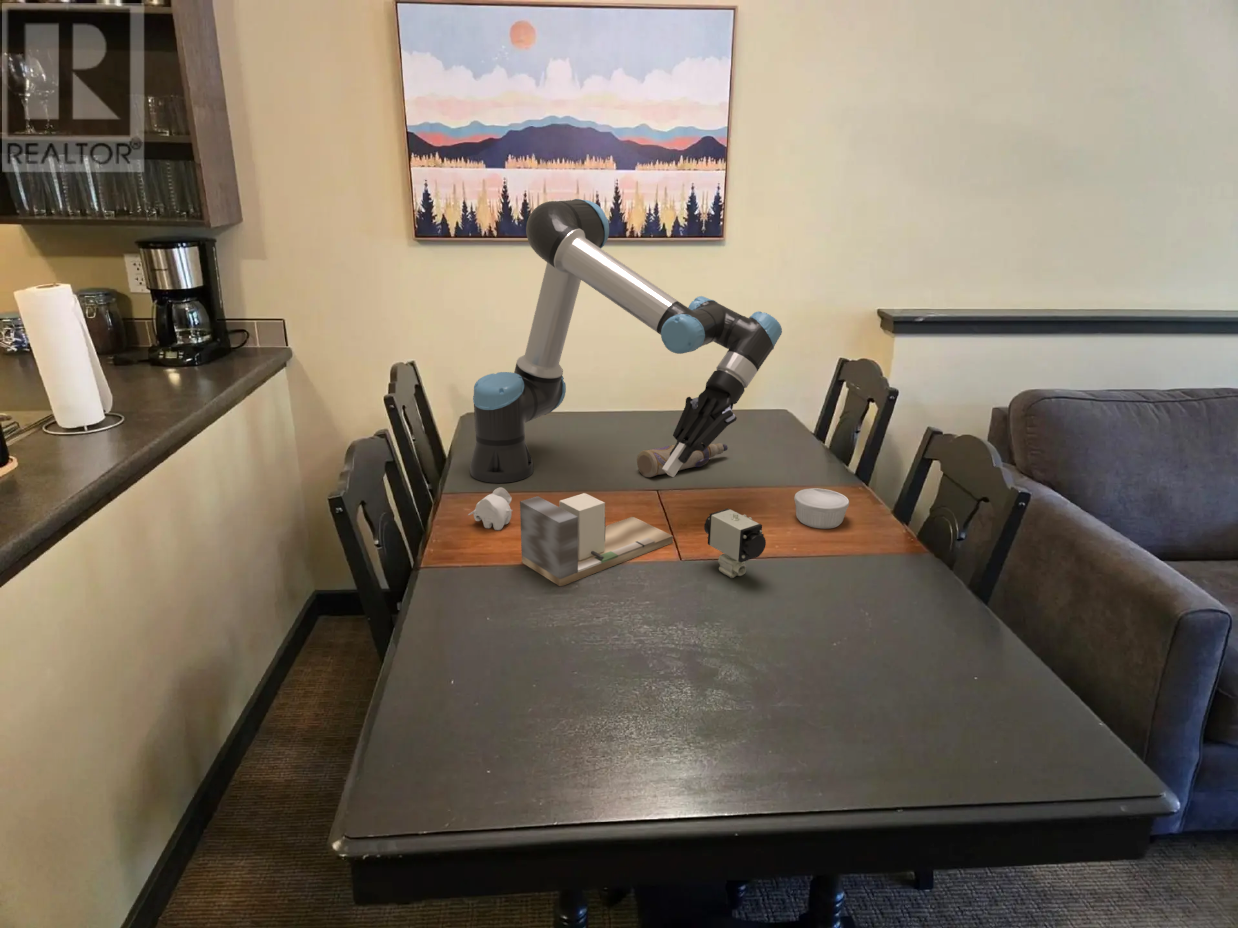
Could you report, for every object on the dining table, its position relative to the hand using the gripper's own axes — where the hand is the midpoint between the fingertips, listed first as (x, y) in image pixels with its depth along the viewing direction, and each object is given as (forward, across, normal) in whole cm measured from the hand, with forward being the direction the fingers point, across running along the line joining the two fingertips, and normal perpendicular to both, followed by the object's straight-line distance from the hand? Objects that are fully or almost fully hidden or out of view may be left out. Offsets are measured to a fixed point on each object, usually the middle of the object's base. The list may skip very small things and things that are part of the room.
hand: (667, 472), depth 162 cm
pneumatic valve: (+11, -21, -7) cm, 25 cm away
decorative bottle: (-10, +23, -29) cm, 38 cm away
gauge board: (+21, 0, +3) cm, 21 cm away
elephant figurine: (+28, +24, +10) cm, 38 cm away
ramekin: (-12, -17, -30) cm, 36 cm away
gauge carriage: (+23, -1, +8) cm, 24 cm away
